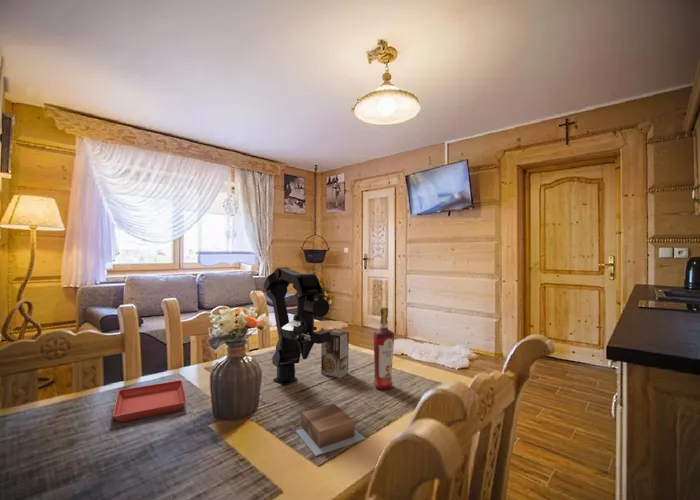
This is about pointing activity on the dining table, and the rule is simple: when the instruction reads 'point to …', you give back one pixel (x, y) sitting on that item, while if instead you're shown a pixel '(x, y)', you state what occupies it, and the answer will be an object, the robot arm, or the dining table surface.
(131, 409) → the plant saucer
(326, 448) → the mat
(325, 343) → the coffee box
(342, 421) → the walnut block
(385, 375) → the liquor
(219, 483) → the dining table surface
